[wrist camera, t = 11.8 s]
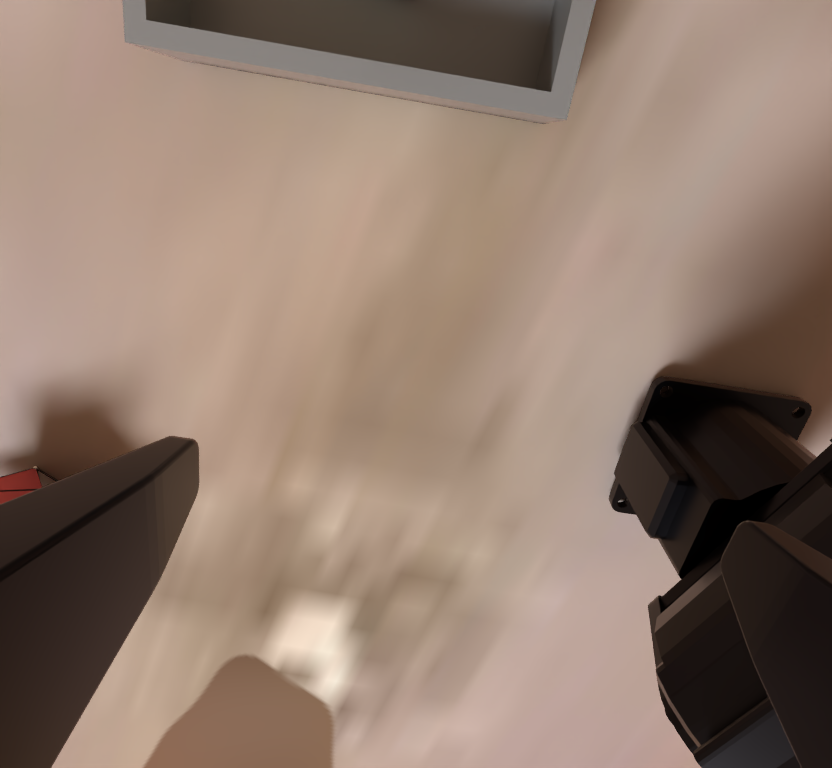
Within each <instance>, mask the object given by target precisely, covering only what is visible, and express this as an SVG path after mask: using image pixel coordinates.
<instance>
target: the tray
mask: <svg viewBox="0 0 832 768" xmlns="http://www.w3.org/2000/svg"><path fill="white" fill-rule="evenodd" d="M595 3H596V0H123V17H124V35H125V42H126V43H129V44H132V45H135V46H138V47H142V48H145V49H148V50H151V51H154V52H157V53H160V54H163V55H166V56H169V57H173V58H176V59H179V60H183V61H189V62H195V63H200V64H206V65H212V66H217V67H223V68H229V69H234V70H240V71H246V72H251V73H257V74H263V75H269V76H274V77H280V78H286V79H291V80H297V81H303V82H308V83H314V84H320V85H325V86H331V87H337V88H343V89H348V90H354V91H360V92H365V93H371V94H377V95H382V96H388V97H394V98H399V99H405V100H411V101H416V102H422V103H428V104H434V105H439V106H445V107H451V108H456V109H462V110H468V111H473V112H479V113H485V114H490V115H496V116H502V117H508V118H513V119H519V120H525V121H530V122H536V123H542V124H545V123H551V122H557V121H564V120H567V117H568V112H569V108H570V104H571V100H572V96H573V92H574V88H575V84H576V80H577V76H578V72H579V68H580V64H581V60H582V56H583V51H584V47H585V43H586V39H587V35H588V31H589V27H590V23H591V19H592V15H593V11H594V7H595Z"/></svg>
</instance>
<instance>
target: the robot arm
mask: <svg viewBox="0 0 832 768" xmlns="http://www.w3.org/2000/svg"><path fill="white" fill-rule="evenodd" d="M665 386H669V389H668V390H667V392H665V393H660V390H661V389H662V388H663V387H665ZM797 407H799V409H798V410H797V412H795V413H792V411H793V410H794V409H796V408H797ZM811 411H812V409H811V406H810V405H809V403H807V402H806V401H804V400H803V399H801V398H798V397H793V396H786V395H780V394H774V393H767V392H761V391H755V390H748V389H742V388H736V387H729V386H723V385H717V384H711V383H704V382H698V381H692V380H685V379H679V378H673V377H660V378H657V379H656V380H654V381H653V382H652V384H651V386H650V388H649V391H648V394H647V396H646V399H645V402H644V405H643V407H642V410H641V413H640V415H639V418H638V421H637V422H635V423H634V424H633V425H632V426H631V428H630V431H629V434H628V436H627V439H626V442H625V444H624V447H623V450H622V453H621V455H620V458H619V461H618V463H617V466H616V469H615V472H614V474H615V476H616V480H615V482H614V485H613V488H612V490H611V493H610V496H609V501H610V504H611V506H612V508H613V509H614V510H615V511H617V512H622V513H628V514H635V515H637V517H638V518H639V520H640V522H641V524H642V526H643V528H644V529H645V531H646V533H647V534H648V535H649V537H650V538H654V539H658V540H659V541H660V543H661V545H662V547H663V549H664V550H665V552H666V554H667V556H668V557H669V559H670V561H671V563H672V564H673V566H674V568H675V570H676V571H677V573H678V575H679V576H680V578H681V580H680V581H679V582H678V583H677V584H676V585H675V586H674V587H672V588H671V589H670V590H669V591H668V592H667V593H666V594H665V595H664V596H663V597H662V596H658V597H656V598H655V599H654V600H653V601H652V602H651V603H650V604H649V605H648V610H649V618H650V625H651V633H652V641H653V648H654V656H655V664H656V675H657V681H658V687H659V691H660V695H661V700H662V702H663V705H664V707H665V712H666V715H667V717H668V719H669V720H670V722H671V723H672V724H673V725H674V727H675V729H676V731H677V732H678V734H679V735H680V737H681V738H682V740H683V741H684V743H685V744H686V745H687V747H688V748H689V750H690V751H691V752H692V753H693V755H694V757H695V760H696V761H697V763H698V764H699V765H700V766H701V767H702V768H832V444H831V445H830V446H829V447H828V448H827V449H825V450H824V451H823V452H822V453H821V454H820V455H819V456H818V457H816V456H815V455H814V454H812V453H811V452H810V451H809V450H807V449H806V448H805V447H804V446H803V445H801V444H800V443H799V442H798V441H797V439H798V437H799V435H800V434H801V432H802V430H803V428H804V426H805V424H806V422H807V420H808V418H809V416H810V414H811ZM830 441H831V442H832V439H831V440H830ZM198 488H199V447H198V443H197V442H196V441H195V440H194V439H190V438H183V437H176V436H169V437H166V438H164V439H161V440H159V441H156V442H154V443H151V444H149V445H146V446H144V447H141V448H139V449H136V450H134V451H131V452H129V453H126V454H124V455H121V456H119V457H116V458H114V459H111V460H109V461H107V462H104V463H102V464H99V465H97V466H94V467H92V468H89V469H87V470H84V471H82V472H79V473H77V474H74V475H72V476H69V477H67V478H64V479H62V480H59V481H57V482H54V483H52V484H49V485H47V486H44V487H42V488H39V489H37V490H35V491H32V492H30V493H27V494H25V495H22V496H20V497H17V498H15V499H12V500H10V501H7V502H5V503H2V504H0V768H51V767H52V765H53V764H54V762H55V760H56V758H57V757H58V755H59V753H60V751H61V750H62V748H63V746H64V745H65V743H66V741H67V739H68V738H69V736H70V734H71V733H72V731H73V729H74V727H75V726H76V724H77V722H78V720H79V719H80V717H81V715H82V714H83V712H84V710H85V708H86V707H87V705H88V703H89V702H90V700H91V698H92V696H93V695H94V693H95V691H96V689H97V688H98V686H99V684H100V683H101V681H102V679H103V677H104V676H105V674H106V672H107V671H108V669H109V667H110V665H111V664H112V662H113V660H114V658H115V657H116V655H117V653H118V652H119V650H120V648H121V646H122V645H123V643H124V641H125V640H126V638H127V636H128V634H129V633H130V631H131V629H132V627H133V626H134V624H135V622H136V621H137V619H138V617H139V615H140V614H141V612H142V610H143V609H144V607H145V605H146V603H147V602H148V600H149V598H150V596H151V595H152V593H153V591H154V589H155V587H156V586H157V584H158V582H159V580H160V578H161V576H162V574H163V572H164V569H165V567H166V565H167V563H168V561H169V558H170V556H171V554H172V551H173V549H174V547H175V544H176V542H177V540H178V538H179V535H180V533H181V531H182V528H183V526H184V524H185V522H186V519H187V517H188V515H189V512H190V510H191V508H192V505H193V503H194V501H195V498H196V496H197V493H198ZM623 498H625V500H624V501H623V502H618V501H619V500H620V499H623Z"/></svg>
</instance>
